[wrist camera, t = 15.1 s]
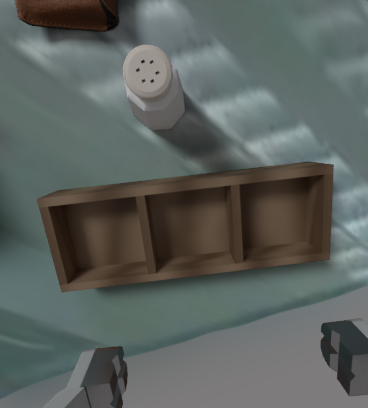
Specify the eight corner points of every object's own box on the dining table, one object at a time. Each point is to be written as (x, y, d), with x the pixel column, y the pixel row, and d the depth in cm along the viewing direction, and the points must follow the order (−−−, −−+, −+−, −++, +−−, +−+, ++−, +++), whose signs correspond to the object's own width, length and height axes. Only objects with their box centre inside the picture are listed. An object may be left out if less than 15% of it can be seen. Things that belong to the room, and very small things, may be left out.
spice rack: (309, 161, 26) (333, 164, 22) (308, 243, 29) (329, 259, 25) (57, 190, 26) (36, 199, 22) (77, 271, 28) (61, 292, 24)
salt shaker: (195, 115, 25) (212, 94, 14) (148, 141, 25) (130, 139, 14) (169, 62, 23) (167, -6, 13) (120, 90, 24) (78, 46, 13)
